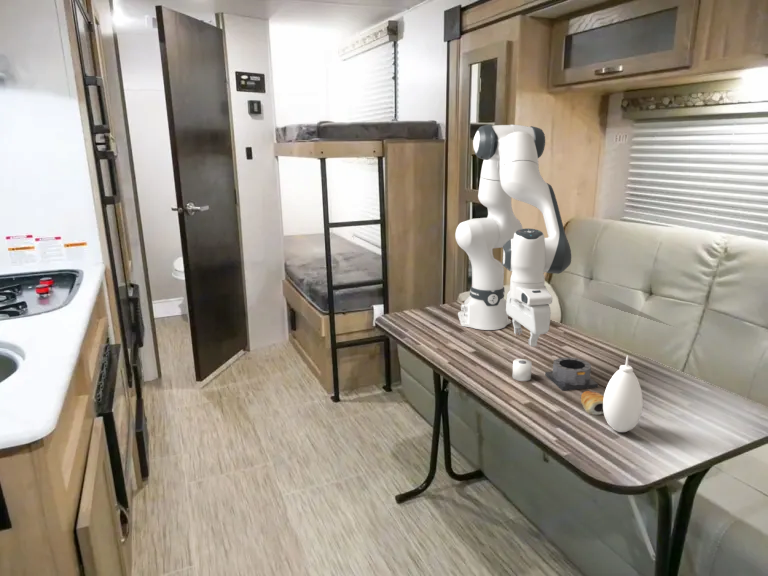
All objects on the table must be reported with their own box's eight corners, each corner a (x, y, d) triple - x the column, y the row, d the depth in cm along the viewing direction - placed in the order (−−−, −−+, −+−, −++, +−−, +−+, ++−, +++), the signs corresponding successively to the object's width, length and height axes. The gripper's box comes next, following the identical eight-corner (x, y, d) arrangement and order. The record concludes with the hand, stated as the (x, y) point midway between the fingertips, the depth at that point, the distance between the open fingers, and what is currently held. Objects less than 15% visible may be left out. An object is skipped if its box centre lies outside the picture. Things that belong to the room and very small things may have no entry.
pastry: (574, 398, 133) (575, 384, 132) (600, 398, 132) (602, 384, 131) (587, 416, 124) (588, 401, 123) (615, 416, 123) (617, 401, 122)
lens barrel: (545, 375, 146) (546, 358, 145) (578, 372, 147) (579, 355, 146) (562, 390, 136) (563, 373, 135) (597, 387, 138) (599, 370, 136)
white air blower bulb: (628, 420, 120) (636, 348, 116) (645, 438, 113) (655, 361, 108) (595, 422, 120) (601, 349, 116) (610, 440, 113) (618, 362, 108)
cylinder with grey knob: (509, 374, 147) (510, 359, 146) (526, 373, 148) (527, 357, 146) (516, 381, 142) (517, 366, 141) (533, 380, 143) (534, 364, 142)
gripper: (501, 282, 148) (499, 329, 151) (531, 300, 128) (529, 353, 132) (522, 281, 149) (520, 327, 152) (555, 299, 129) (553, 351, 132)
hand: (525, 339), depth 142 cm, fingers open, 8 cm apart
